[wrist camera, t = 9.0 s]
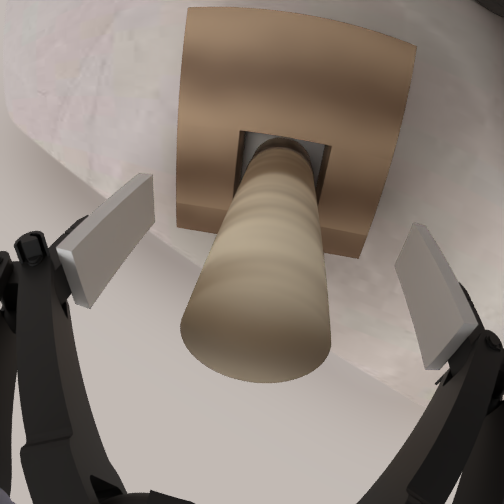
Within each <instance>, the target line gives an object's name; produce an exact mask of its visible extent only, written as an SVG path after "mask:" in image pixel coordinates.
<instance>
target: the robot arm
mask: <svg viewBox="0 0 504 504" xmlns="http://www.w3.org/2000/svg"><path fill="white" fill-rule="evenodd" d="M476 1H477V2H479V3H480V4H481V5H483V6H484V7H486V8H487V9H489V10H490V11H492V12H494V13H496V14H498V15H500V16H502V17H504V0H476ZM154 223H155V214H154V196H153V174H143V173H139V174H138V175H136V176H135V177H134V178H133V179H131V180H130V181H129V182H128V183H126V184H125V185H124V186H123V187H121V188H120V189H119V190H118V191H117V192H115V193H114V194H113V195H112V196H111V197H110V198H108V199H107V200H106V201H105V202H104V203H103V204H102V205H100V206H99V207H98V208H97V209H96V210H95V211H94V212H92V214H90V215H87V216H85V217H83V218H81V219H79V220H77V221H76V222H75V223H74V224H73V225H72V226H71V227H70V228H69V229H68V230H66V231H65V234H63V235H61V236H60V237H59V238H58V239H57V240H56V241H55V242H54V243H53V244H52V245H51V246H50V247H49V248H48V246H47V244H46V240H45V237H44V234H43V233H42V232H40V231H32V232H29V233H26V234H24V235H22V236H21V237H20V238H19V239H18V240H17V241H16V242H15V244H14V248H15V250H16V253H17V256H18V258H19V261H15V262H14V261H13V262H12V261H11V259H10V256H9V253H8V252H6V251H0V301H1V303H2V308H1V310H0V504H15V503H14V502H12V501H11V499H10V491H11V478H12V465H11V464H12V459H11V433H12V413H13V400H14V390H15V382H16V375H17V372H18V385H19V394H20V402H21V410H22V416H23V422H24V428H25V433H26V444H25V445H24V446H23V447H22V448H21V451H20V458H21V464H22V468H23V472H24V475H25V479H26V483H27V486H28V489H29V492H30V495H31V498H32V501H33V504H195V503H193V502H190V501H186V500H183V499H178V498H175V497H172V496H168V495H165V494H162V493H158V492H155V491H152V490H150V493H129V494H127V492H126V490H125V488H124V485H123V483H122V481H121V479H120V477H119V475H118V474H117V472H116V470H115V469H114V468H113V466H112V465H111V463H110V462H109V460H108V457H107V455H106V452H105V450H104V447H103V444H102V442H101V439H100V436H99V433H98V430H97V427H96V424H95V421H94V418H93V415H92V412H91V408H90V405H89V401H88V398H87V394H86V390H85V386H84V382H83V378H82V374H81V371H80V366H79V361H78V356H77V351H76V347H75V341H74V335H73V329H72V323H71V316H70V310H69V304H68V302H67V298H68V297H69V296H70V295H71V293H72V296H73V298H74V301H75V304H77V305H80V306H83V307H86V308H89V309H91V307H92V306H93V304H94V303H95V301H96V300H97V298H98V297H99V295H100V294H101V293H102V291H103V290H104V288H105V287H106V286H107V284H108V283H109V281H110V280H111V278H112V277H113V276H114V274H115V273H116V272H117V270H118V269H119V268H120V266H121V265H122V263H123V262H124V261H125V259H126V258H127V257H128V255H129V254H130V253H131V252H132V250H133V249H134V248H135V246H136V245H137V244H138V243H139V241H140V240H141V239H142V238H143V236H144V235H145V234H146V232H147V231H148V230H149V229H150V227H151V226H152V225H153V224H154ZM395 269H396V271H397V274H398V277H399V280H400V283H401V286H402V289H403V292H404V295H405V298H406V301H407V304H408V308H409V311H410V314H411V318H412V321H413V324H414V328H415V332H416V335H417V339H418V343H419V347H420V350H421V355H422V359H423V363H424V367H425V370H440V369H441V368H442V367H443V366H444V364H445V363H446V362H447V361H448V363H449V367H450V368H449V369H448V370H447V372H446V373H445V374H444V375H443V376H442V377H441V378H440V379H439V380H438V381H437V382H436V383H435V384H436V385H437V384H438V383H439V382H440V384H439V386H438V388H437V390H436V392H435V394H434V396H433V397H432V399H431V401H430V403H429V405H428V406H427V408H426V410H425V412H424V413H423V415H422V417H421V418H420V420H419V422H418V423H417V425H416V426H415V428H414V430H413V431H412V433H411V434H410V436H409V437H408V439H407V440H406V442H405V443H404V445H403V446H402V448H401V449H400V451H399V452H398V453H397V455H396V456H395V458H394V459H393V460H392V462H391V463H390V464H389V466H388V467H387V468H386V470H385V471H384V472H383V473H382V475H381V476H380V477H379V479H378V480H377V481H376V482H375V483H374V485H373V486H372V487H371V488H370V489H369V491H368V492H367V493H366V494H365V495H364V496H363V497H362V499H361V500H360V501H359V502H358V503H357V504H445V502H446V500H447V499H448V497H449V495H450V493H451V492H452V490H453V488H454V486H455V484H456V482H457V481H458V479H459V477H460V475H461V473H462V475H461V478H460V482H459V485H458V488H457V491H456V494H455V497H454V500H453V503H452V504H504V400H502V397H503V395H504V349H503V346H502V343H501V341H500V339H499V338H498V336H497V335H496V334H495V333H493V332H491V331H490V330H485V329H484V326H483V324H482V322H481V319H480V317H479V315H478V313H477V311H476V309H475V308H474V304H473V302H472V301H471V298H470V296H469V294H468V292H467V290H466V289H465V288H464V287H463V286H462V285H461V283H460V282H458V281H457V279H456V277H455V275H454V273H453V271H452V269H451V267H450V266H449V264H448V262H447V260H446V258H445V257H444V255H443V253H442V252H441V250H440V248H439V246H438V245H437V243H436V241H435V240H434V238H433V236H432V235H431V233H430V232H429V230H428V228H427V227H426V226H425V225H421V224H418V223H413V225H412V228H411V230H410V232H409V235H408V237H407V239H406V242H405V244H404V246H403V248H402V251H401V253H400V255H399V257H398V259H397V261H396V264H395Z"/></svg>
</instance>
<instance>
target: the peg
mask: <svg viewBox="0 0 504 504" xmlns="http://www.w3.org/2000/svg"><path fill="white" fill-rule="evenodd" d="M180 327H181V328H180V329H181V330H180V331H181V336H182V339H183V341H184V344H185V345H186V347H187V349H188V350H189V351H190V353H191V354H192V355H193V356H194V357H195V358H196V359H197V360H199V361H200V362H201V363H202V364H204V365H205V366H207V367H208V368H210V369H212V370H214V371H216V372H218V373H220V374H222V375H225V376H228V377H231V378H234V379H238V380H242V381H247V382H254V383H277V382H284V381H289V380H294V379H297V378H300V377H302V376H304V375H307V374H309V373H310V372H312V371H314V370H315V369H316V368H318V367H319V366H320V365H321V364H322V363H323V362H324V361H325V359H326V358H327V356H328V354H329V351H330V348H331V331H330V317H329V304H328V292H327V282H326V272H325V262H324V253H323V245H322V236H321V228H320V221H319V213H318V206H317V199H316V193H315V186H314V175H313V170H312V167H311V162H310V158H309V155H308V153H307V151H306V150H305V149H304V147H303V146H301V145H300V144H299V143H298V142H296V141H294V140H291V139H288V138H273V139H270V140H267V141H266V142H264V143H262V144H261V145H260V146H259V147H258V148H257V150H256V151H255V153H254V155H253V157H252V159H251V161H250V162H249V164H248V166H247V169H246V172H245V174H244V176H243V179H242V181H241V183H240V185H239V187H238V189H237V192H236V194H235V196H234V198H233V200H232V203H231V205H230V207H229V209H228V211H227V214H226V216H225V218H224V220H223V223H222V225H221V227H220V229H219V232H218V234H217V236H216V239H215V241H214V243H213V245H212V248H211V250H210V252H209V255H208V257H207V259H206V262H205V264H204V266H203V269H202V271H201V273H200V276H199V278H198V281H197V283H196V285H195V288H194V290H193V293H192V295H191V297H190V300H189V302H188V305H187V307H186V310H185V312H184V315H183V317H182V320H181V324H180Z"/></svg>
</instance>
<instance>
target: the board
mask: <svg viewBox="0 0 504 504" xmlns="http://www.w3.org/2000/svg"><path fill="white" fill-rule="evenodd" d="M416 49H417V46H415V45H412V44H410V43H407V42H405V41H402V40H399V39H396V38H394V37H391V36H388V35H385V34H382V33H379V32H376V31H372V30H369V29H366V28H362V27H359V26H355V25H351V24H347V23H343V22H339V21H335V20H330V19H326V18H321V17H316V16H310V15H304V14H298V13H292V12H284V11H276V10H267V9H255V8H239V7H189V8H188V12H187V19H186V27H185V36H184V45H183V55H182V66H181V78H180V91H179V108H178V128H177V163H176V217H177V227H178V228H184V229H190V230H196V231H202V232H208V233H214V234H218V232H219V229H220V227H221V225H222V223H223V220H224V218H225V216H226V214H227V211H228V209H229V207H230V205H231V203H232V200H233V198H234V196H235V194H236V192H237V189H238V187H239V185H240V178H241V169H242V160H243V151H244V142H245V134H246V131H250V132H257V133H264V134H270V135H277V136H283V137H289V138H294V139H300V140H305V141H310V142H315V143H320V144H325V148H324V153H323V158H322V162H321V167H320V171H319V176H318V180H317V185H316V189H315V193H316V199H317V206H318V213H319V221H320V228H321V236H322V245H323V252H324V253H329V254H335V255H340V256H346V257H351V258H357V259H359V256H360V254H361V251H362V248H363V246H364V243H365V240H366V238H367V235H368V232H369V229H370V227H371V224H372V221H373V218H374V215H375V212H376V209H377V206H378V203H379V200H380V197H381V194H382V191H383V188H384V185H385V181H386V178H387V175H388V172H389V168H390V165H391V161H392V158H393V154H394V151H395V147H396V143H397V139H398V136H399V132H400V128H401V124H402V120H403V115H404V111H405V107H406V102H407V98H408V93H409V88H410V83H411V78H412V73H413V67H414V61H415V55H416Z"/></svg>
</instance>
